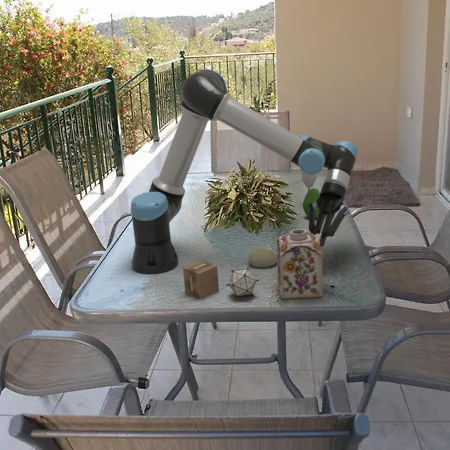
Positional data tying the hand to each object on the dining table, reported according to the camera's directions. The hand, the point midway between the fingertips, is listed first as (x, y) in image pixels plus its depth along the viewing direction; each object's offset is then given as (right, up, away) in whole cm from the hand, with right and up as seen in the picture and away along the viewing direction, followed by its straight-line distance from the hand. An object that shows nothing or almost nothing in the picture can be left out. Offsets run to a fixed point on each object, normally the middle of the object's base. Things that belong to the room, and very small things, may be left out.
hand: (313, 255), depth 174 cm
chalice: (+9, +16, +70) cm, 72 cm away
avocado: (+8, +12, +57) cm, 58 cm away
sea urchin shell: (-14, -4, +15) cm, 21 cm away
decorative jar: (-5, -10, -6) cm, 13 cm away
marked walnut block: (-33, -11, -3) cm, 35 cm away
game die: (-21, -11, -7) cm, 25 cm away
